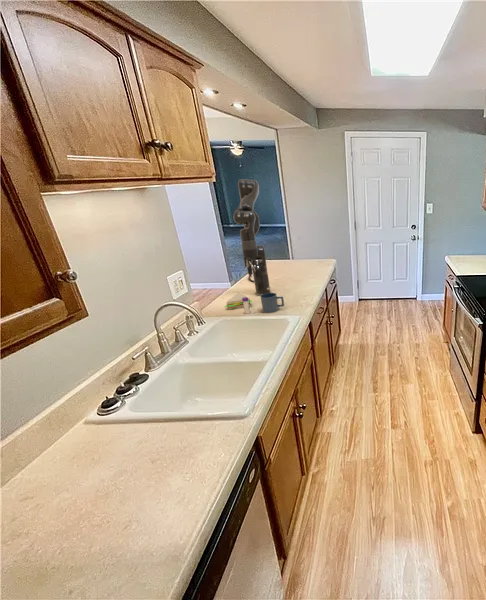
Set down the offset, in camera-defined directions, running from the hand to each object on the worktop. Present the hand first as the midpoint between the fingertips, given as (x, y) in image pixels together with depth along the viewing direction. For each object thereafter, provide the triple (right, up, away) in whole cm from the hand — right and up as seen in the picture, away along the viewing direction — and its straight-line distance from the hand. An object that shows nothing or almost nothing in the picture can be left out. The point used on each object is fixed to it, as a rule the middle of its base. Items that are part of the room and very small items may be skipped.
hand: (254, 276), depth 188 cm
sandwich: (-18, -16, +21) cm, 32 cm away
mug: (+7, -20, +12) cm, 24 cm away
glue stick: (-7, -21, +7) cm, 24 cm away
